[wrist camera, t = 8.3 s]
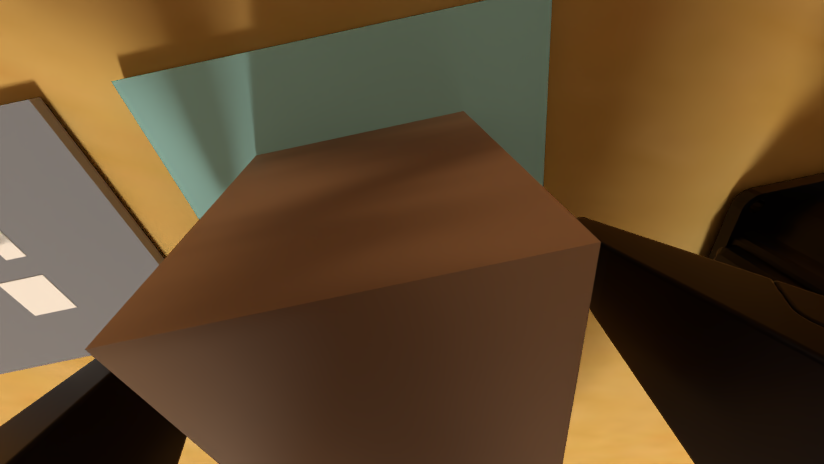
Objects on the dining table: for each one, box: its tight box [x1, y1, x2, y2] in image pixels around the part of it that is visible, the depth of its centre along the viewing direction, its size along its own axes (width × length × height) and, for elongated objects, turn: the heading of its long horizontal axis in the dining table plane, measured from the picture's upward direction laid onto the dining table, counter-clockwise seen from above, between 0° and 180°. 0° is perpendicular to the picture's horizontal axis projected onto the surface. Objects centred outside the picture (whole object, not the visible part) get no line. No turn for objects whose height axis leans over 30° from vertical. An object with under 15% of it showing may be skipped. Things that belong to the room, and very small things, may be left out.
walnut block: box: [85, 111, 601, 464], centre depth 7 cm, size 6×6×6 cm
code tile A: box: [0, 97, 164, 374], centre depth 10 cm, size 8×8×1 cm
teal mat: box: [111, 0, 552, 219], centre depth 10 cm, size 10×10×1 cm
